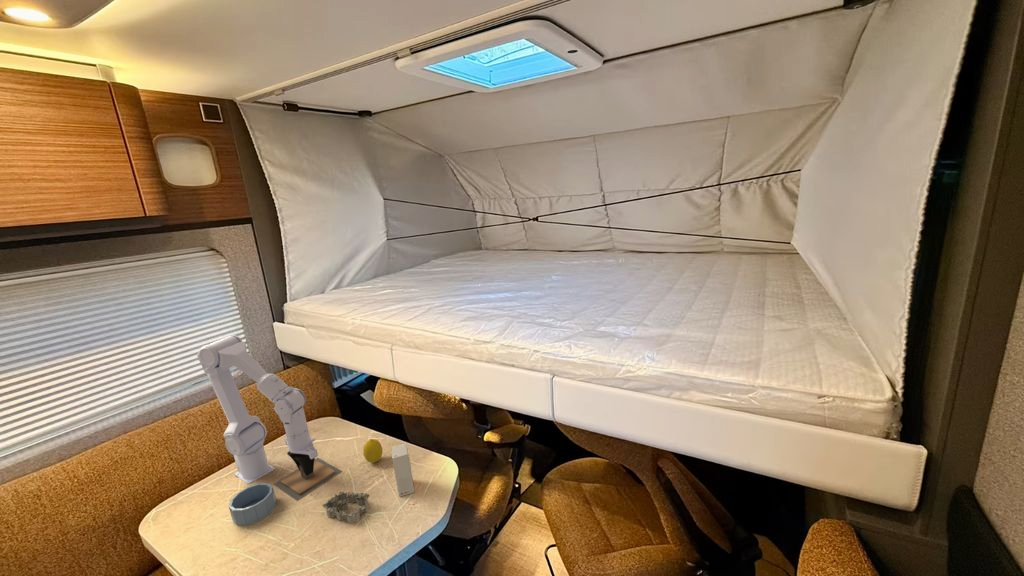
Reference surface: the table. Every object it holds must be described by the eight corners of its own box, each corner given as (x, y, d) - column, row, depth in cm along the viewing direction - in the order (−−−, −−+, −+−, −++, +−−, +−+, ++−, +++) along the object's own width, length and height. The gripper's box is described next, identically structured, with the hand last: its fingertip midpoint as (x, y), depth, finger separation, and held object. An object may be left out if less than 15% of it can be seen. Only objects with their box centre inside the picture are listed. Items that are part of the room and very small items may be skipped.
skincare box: (414, 493, 115) (408, 454, 112) (398, 497, 114) (391, 458, 111) (413, 479, 120) (406, 442, 118) (398, 483, 119) (391, 446, 117)
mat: (273, 485, 124) (273, 484, 124) (317, 458, 135) (317, 457, 135) (297, 502, 116) (297, 500, 116) (342, 472, 127) (342, 471, 126)
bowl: (227, 517, 112) (222, 501, 111) (266, 493, 120) (262, 478, 119) (243, 532, 107) (239, 515, 106) (283, 506, 114) (279, 490, 113)
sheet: (280, 482, 124) (277, 469, 123) (315, 461, 133) (312, 448, 132) (299, 495, 118) (296, 481, 117) (335, 472, 126) (332, 459, 125)
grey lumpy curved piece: (373, 507, 112) (371, 493, 111) (352, 528, 105) (349, 514, 104) (344, 497, 116) (341, 484, 115) (322, 517, 110) (319, 503, 109)
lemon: (378, 468, 127) (374, 445, 125) (362, 467, 128) (357, 444, 126) (387, 457, 132) (383, 434, 130) (371, 456, 133) (367, 434, 131)
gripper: (323, 430, 120) (332, 471, 124) (297, 418, 129) (306, 457, 132) (299, 443, 115) (310, 486, 118) (274, 430, 123) (284, 470, 126)
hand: (306, 471), depth 125 cm, fingers closed on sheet, 2 cm apart
